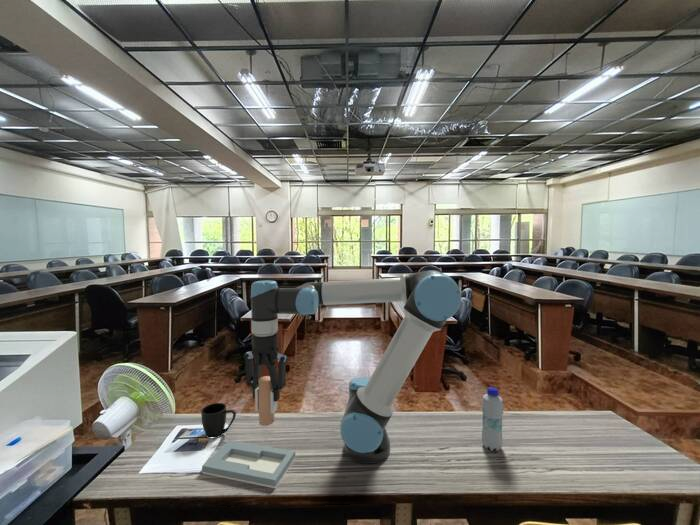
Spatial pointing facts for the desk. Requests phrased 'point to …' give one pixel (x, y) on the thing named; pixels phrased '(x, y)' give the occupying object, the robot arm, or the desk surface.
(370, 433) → the robot arm
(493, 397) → the bottle
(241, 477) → the keyhole board
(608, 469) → the desk surface
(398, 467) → the desk surface
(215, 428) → the mug
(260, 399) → the peg
